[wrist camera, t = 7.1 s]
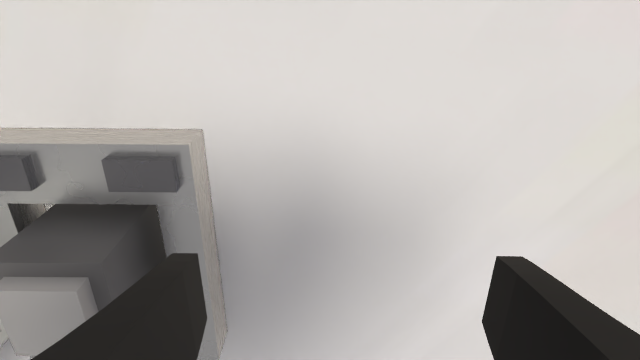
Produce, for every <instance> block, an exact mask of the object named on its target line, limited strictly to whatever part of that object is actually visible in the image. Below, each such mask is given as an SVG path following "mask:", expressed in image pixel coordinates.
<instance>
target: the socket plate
mask: <svg viewBox="0 0 640 360" xmlns="http://www.w3.org/2000/svg"><path fill="white" fill-rule="evenodd" d="M44 204H128V205H157V209H158V214H159V219H160V225H161V230H162V235H163V241H164V246H165V251H166V257H168V256H169V255H171V254H172V253H198V259H199V265H200V272H201V279H202V286H203V292H204V299H205V306H206V312H207V322H206V326H205V330H204V334H203V339H202V343H201V346H200V350H199V354H198V358H197V360H219V358H220V355H221V351H222V348H223V345H224V341H225V338H226V334H227V324H226V316H225V308H224V300H223V292H222V284H221V276H220V267H219V259H218V251H217V243H216V235H215V227H214V219H213V211H212V203H211V195H210V187H209V179H208V170H207V162H206V154H205V146H204V138H203V130H197V129H54V128H0V247H1V246H3V245H4V244H5V243H7V242H8V241H9V240H10V239H12V238H13V237H14V236H16V235H17V234H18V233H19V232H21V231H22V230H23V229H24V228H26V227H27V226H28V225H30V224H31V223H32V222H33V221H35V220H36V219H37V218H38V217H40V216H41V215H42V214H44V213H45V212H46V210H45V207H44ZM34 357H35V356H30V358H34Z"/></svg>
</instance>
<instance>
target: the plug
mask: <svg viewBox="0 0 640 360" xmlns="http://www.w3.org/2000/svg"><path fill="white" fill-rule="evenodd" d="M165 258H166V253H165V248H164V243H163V238H162V233H161V227H160V222H159V217H158V212H157V207H156V205H128V204H55V205H54V206H53V207H51V208H50V209H49V210H47V211H46V212H45V213H44V214H42V215H41V216H40V217H38V218H37V219H36V220H35V221H33V222H32V223H31V224H30V225H28V226H27V227H26V228H24V229H23V230H22V231H21V232H19V233H18V234H17V235H16V236H14V237H13V238H12V239H10V240H9V241H8V242H7V243H5V244H4V245H3V246H1V247H0V319H1V322H2V324H3V326H4V329H5V331H6V333H7V335H8V338H9V340H10V342H11V345H12V347H13V349H14V351H15V354H16V355H18V356H37V355H38V354H40V353H41V352H43V351H44V350H46V349H47V348H49V347H50V346H52V345H53V344H55V343H56V342H58V341H59V340H61V339H62V338H63V337H65V336H66V335H67V334H69V333H70V332H71V331H73V330H74V329H76V328H77V327H78V326H80V325H81V324H82V323H84V322H85V321H87V320H88V319H89V318H91V317H92V316H93V315H95V314H96V313H97V312H99V311H100V310H102V309H103V308H104V307H106V306H107V305H108V304H109V303H111V302H112V301H113V300H114V299H116V298H117V297H118V296H119V295H121V294H122V293H123V292H124V291H126V290H127V289H128V288H129V287H131V286H132V285H133V284H135V283H136V282H137V281H138V280H139V279H141V278H142V277H143V276H144V275H146V274H147V273H148V272H149V271H150V270H152V269H153V268H154V267H155V266H157V265H158V264H159V263H160V262H162V261H163V260H164V259H165Z"/></svg>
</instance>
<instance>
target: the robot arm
mask: <svg viewBox="0 0 640 360" xmlns="http://www.w3.org/2000/svg"><path fill="white" fill-rule="evenodd" d="M206 322H207V312H206V306H205V299H204V292H203V286H202V279H201V272H200V265H199V259H198V253H172V254H171V255H169V256H168V257H167V258H165V259H164V260H163V261H162V262H160V263H159V264H158V265H157V266H155V267H154V268H153V269H152V270H150V271H149V272H148V273H147V274H146V275H144V276H143V277H142V278H141V279H139V280H138V281H137V282H136V283H135V284H133V285H132V286H131V287H129V288H128V289H127V290H126V291H124V292H123V293H122V294H121V295H119V296H118V297H117V298H116V299H114V300H113V301H112V302H111V303H109V304H108V305H107V306H106V307H104V308H103V309H102V310H100V311H99V312H97V313H96V314H95V315H93V316H92V317H91V318H89V319H88V320H87V321H85V322H84V323H82V324H81V325H80V326H78V327H77V328H76V329H74V330H73V331H71V332H70V333H69V334H67V335H66V336H65V337H63V338H62V339H61V340H59V341H58V342H56V343H55V344H53V345H52V346H50V347H49V348H47V349H46V350H44V351H43V352H41V353H40V354H38V355H37V356H35V357H34V358H32V359H31V360H197V358H198V354H199V350H200V346H201V343H202V339H203V334H204V330H205V326H206ZM482 323H483V327H484V330H485V333H486V336H487V340H488V343H489V346H490V349H491V352H492V355H493V358H494V360H640V335H639V334H638V333H636V332H635V331H633V330H631V329H630V328H628V327H627V326H625V325H624V324H622V323H621V322H619V321H618V320H616V319H614V318H613V317H611V316H610V315H608V314H607V313H605V312H604V311H602V310H601V309H599V308H598V307H597V306H595V305H594V304H592V303H591V302H589V301H588V300H586V299H585V298H583V297H582V296H580V295H579V294H578V293H576V292H575V291H573V290H572V289H570V288H569V287H567V286H566V285H565V284H563V283H562V282H560V281H559V280H557V279H556V278H554V277H553V276H551V275H550V274H549V273H547V272H546V271H544V270H543V269H541V268H540V267H538V266H537V265H535V264H534V263H532V262H530V261H529V260H527V259H525V258H524V257H514V256H497V257H496V261H495V265H494V270H493V274H492V279H491V283H490V288H489V292H488V297H487V301H486V305H485V310H484V314H483V319H482Z"/></svg>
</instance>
